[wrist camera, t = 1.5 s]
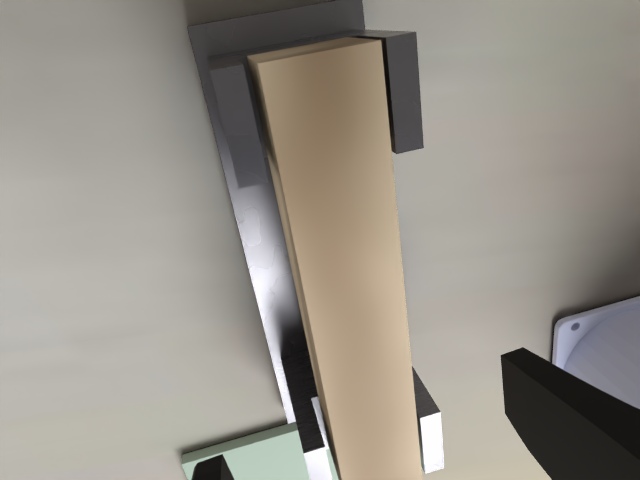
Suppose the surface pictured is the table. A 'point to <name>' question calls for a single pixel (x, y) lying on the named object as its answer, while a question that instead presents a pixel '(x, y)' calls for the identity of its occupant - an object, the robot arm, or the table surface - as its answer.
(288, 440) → the green mat
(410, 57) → the grey u-shaped holder
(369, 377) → the beech rail
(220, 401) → the table surface
